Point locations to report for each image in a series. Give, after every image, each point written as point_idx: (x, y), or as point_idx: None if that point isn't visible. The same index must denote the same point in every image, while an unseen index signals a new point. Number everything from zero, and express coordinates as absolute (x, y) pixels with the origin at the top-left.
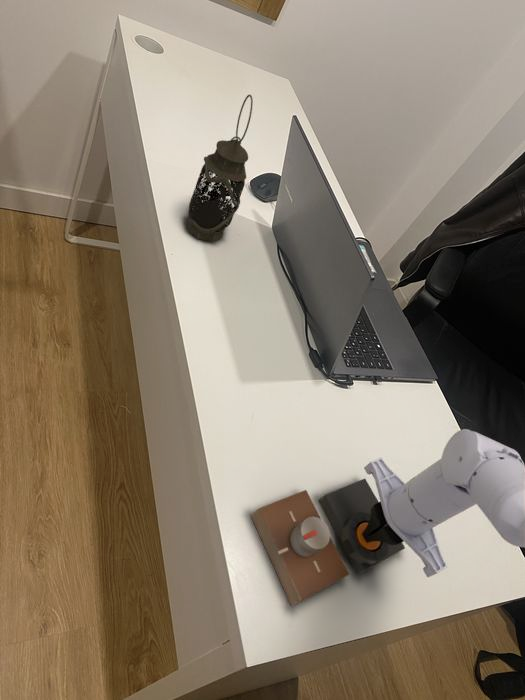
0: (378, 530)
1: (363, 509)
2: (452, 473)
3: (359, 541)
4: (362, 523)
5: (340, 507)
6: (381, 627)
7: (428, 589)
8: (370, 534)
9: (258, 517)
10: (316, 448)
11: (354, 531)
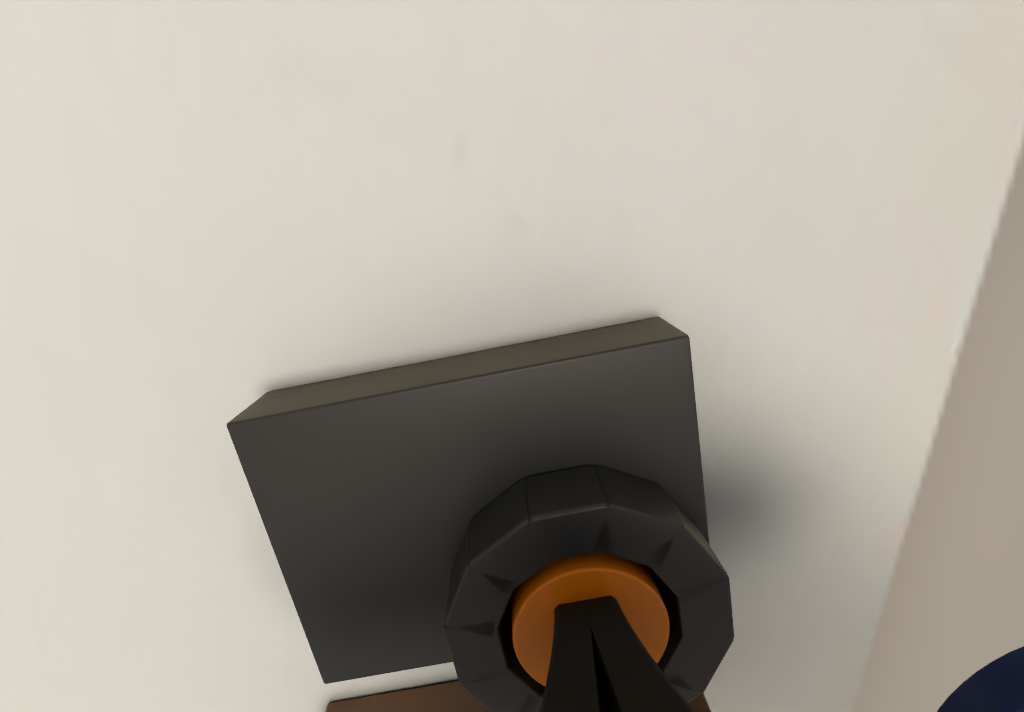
0: (591, 633)
1: (422, 512)
2: None
3: None
4: (515, 648)
5: (396, 633)
6: (903, 533)
7: (885, 206)
8: (603, 695)
9: None
10: (68, 551)
11: None
